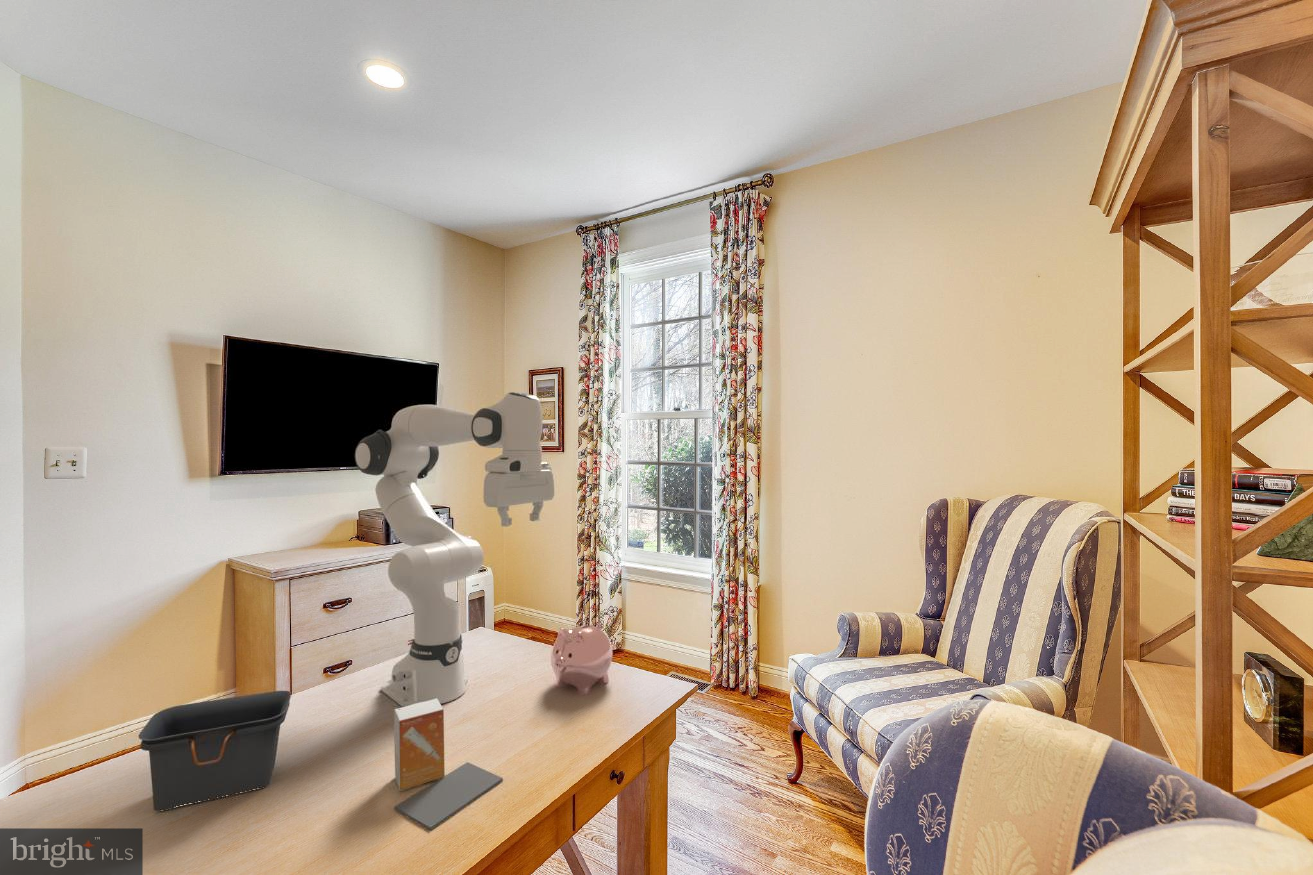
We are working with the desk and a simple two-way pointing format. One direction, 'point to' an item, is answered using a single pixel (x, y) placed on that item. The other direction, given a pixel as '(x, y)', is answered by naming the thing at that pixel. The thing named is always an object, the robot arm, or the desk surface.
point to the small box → (419, 743)
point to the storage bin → (213, 747)
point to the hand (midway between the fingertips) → (520, 523)
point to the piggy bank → (581, 657)
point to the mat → (448, 795)
